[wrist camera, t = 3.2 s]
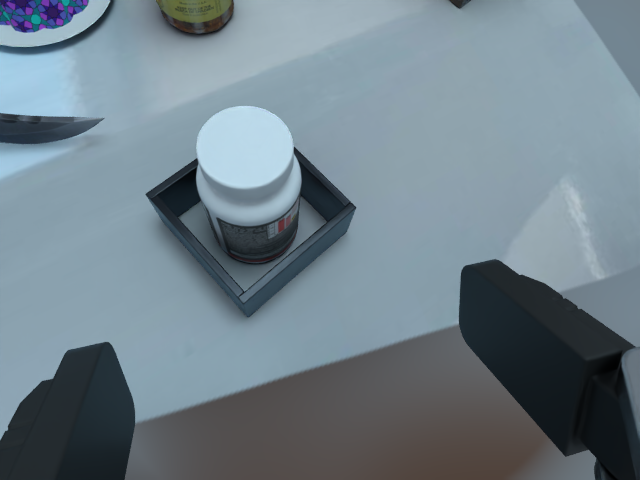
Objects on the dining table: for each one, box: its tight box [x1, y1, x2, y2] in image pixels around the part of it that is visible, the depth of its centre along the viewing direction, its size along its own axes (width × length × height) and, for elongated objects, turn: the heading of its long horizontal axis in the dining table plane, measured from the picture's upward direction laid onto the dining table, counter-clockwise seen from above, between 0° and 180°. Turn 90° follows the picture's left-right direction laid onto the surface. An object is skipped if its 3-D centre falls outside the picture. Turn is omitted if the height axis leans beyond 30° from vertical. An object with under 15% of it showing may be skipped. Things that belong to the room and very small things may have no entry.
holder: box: [146, 147, 356, 317], centre depth 28 cm, size 9×9×4 cm
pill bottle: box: [196, 106, 302, 263], centre depth 25 cm, size 6×6×10 cm
